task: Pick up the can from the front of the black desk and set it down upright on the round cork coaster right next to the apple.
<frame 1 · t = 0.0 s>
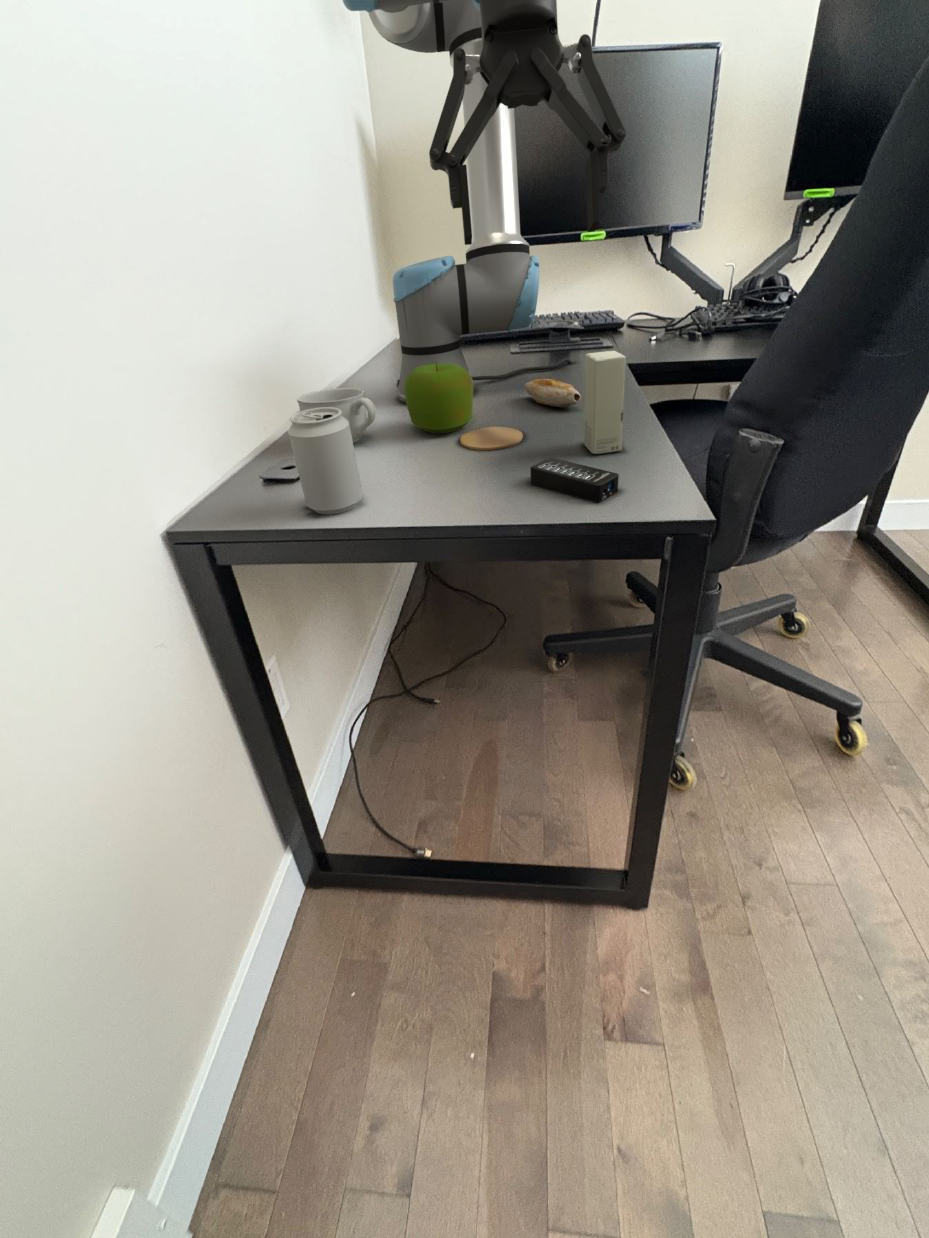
hand: (531, 234, 65), 28 cm above the table, tool tilted 20°, fingers open, 13 cm apart
box: (601, 449, 88), on the table
beige elongated hollow pod: (551, 405, 109), on the table
apple: (443, 430, 102), on the table
teacup: (346, 444, 100), on the table
coaster: (491, 439, 96), on the table
multiport hub: (572, 488, 77), on the table
can: (336, 506, 79), on the table
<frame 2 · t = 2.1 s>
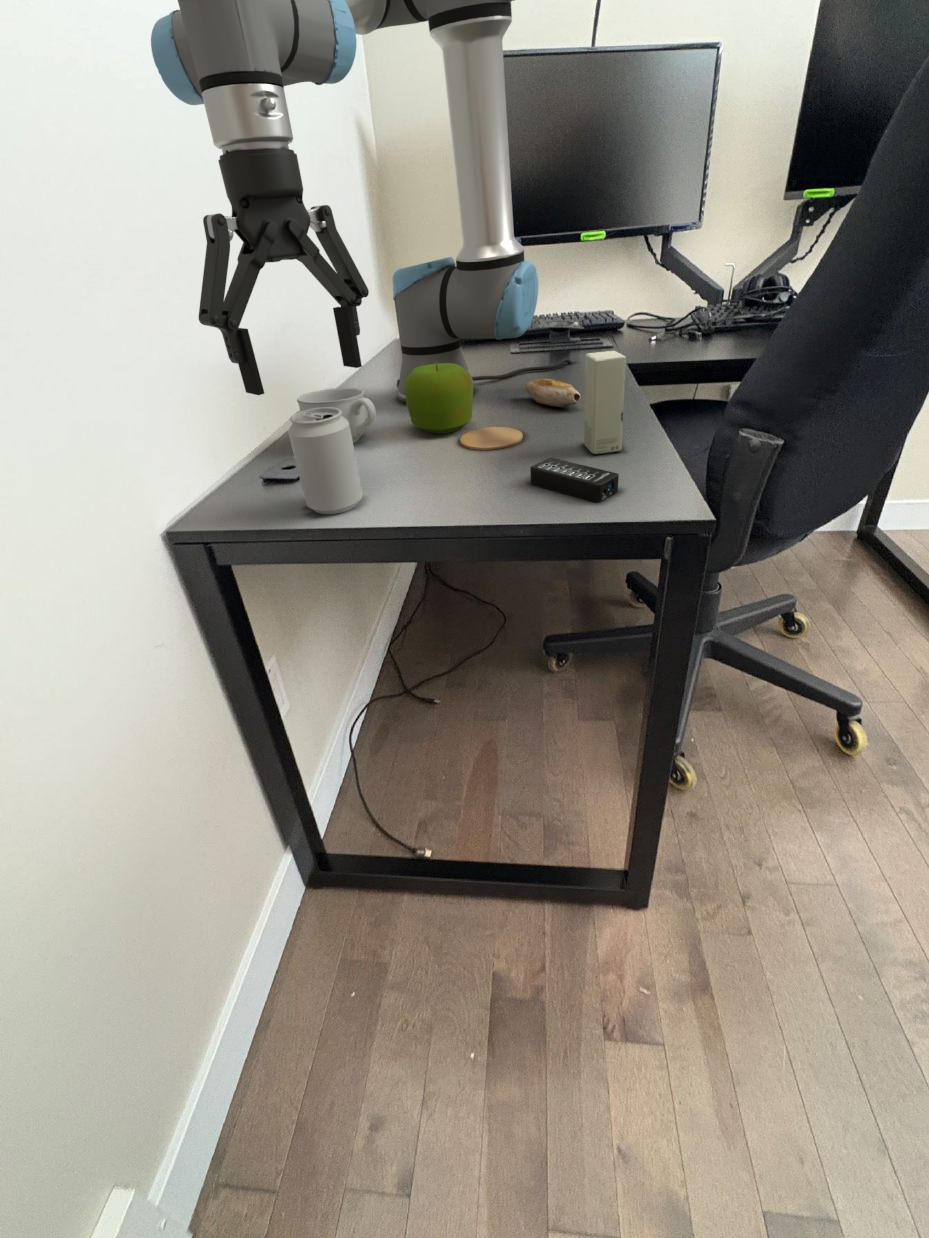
hand: (306, 379, 70), 16 cm above the table, tool pointing down, fingers open, 13 cm apart
nothing on the table moved.
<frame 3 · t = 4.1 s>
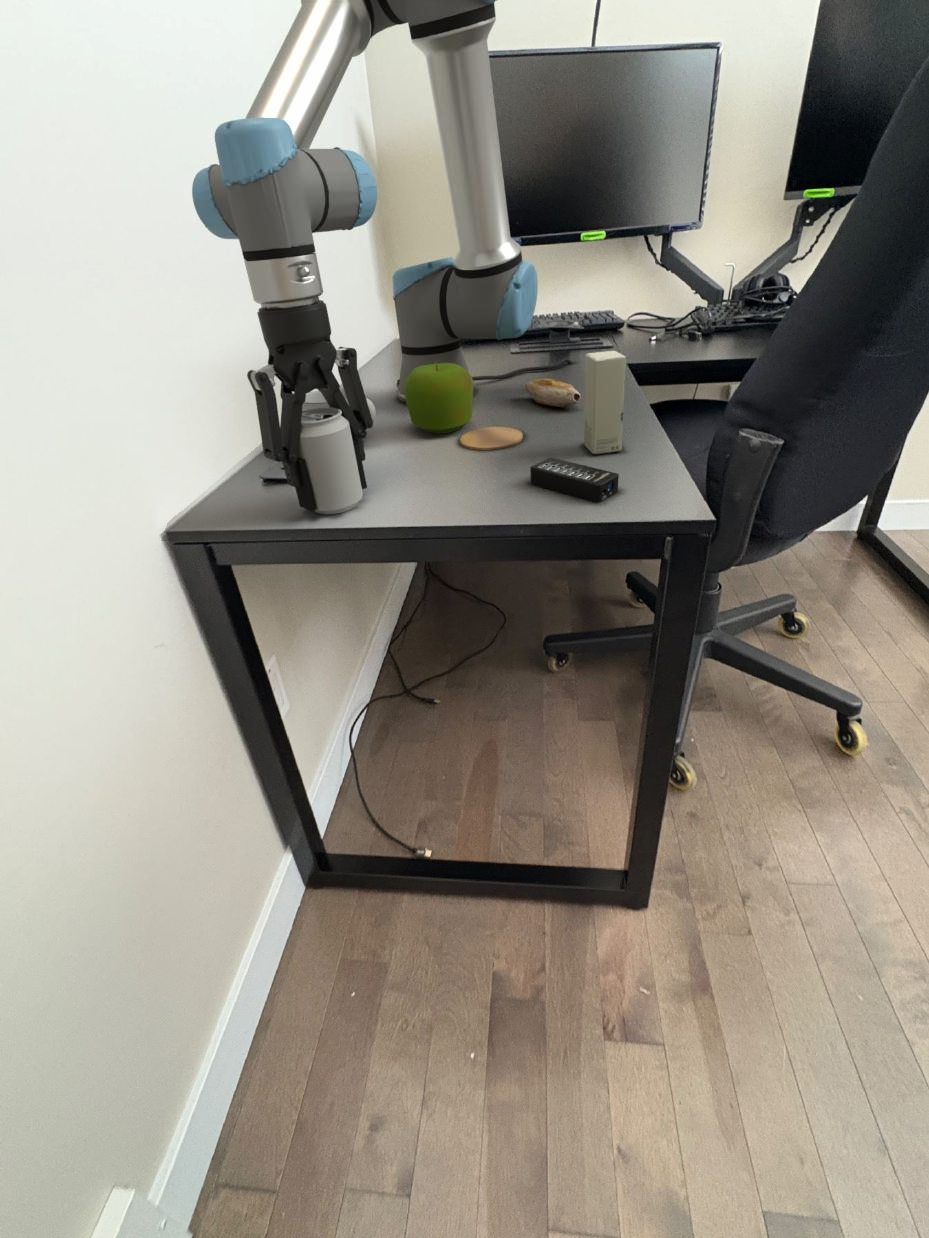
hand: (334, 496, 79), 1 cm above the table, tool pointing down, fingers closed on can, 7 cm apart
can: (336, 506, 79), on the table, touching gripper
everything else where it was.
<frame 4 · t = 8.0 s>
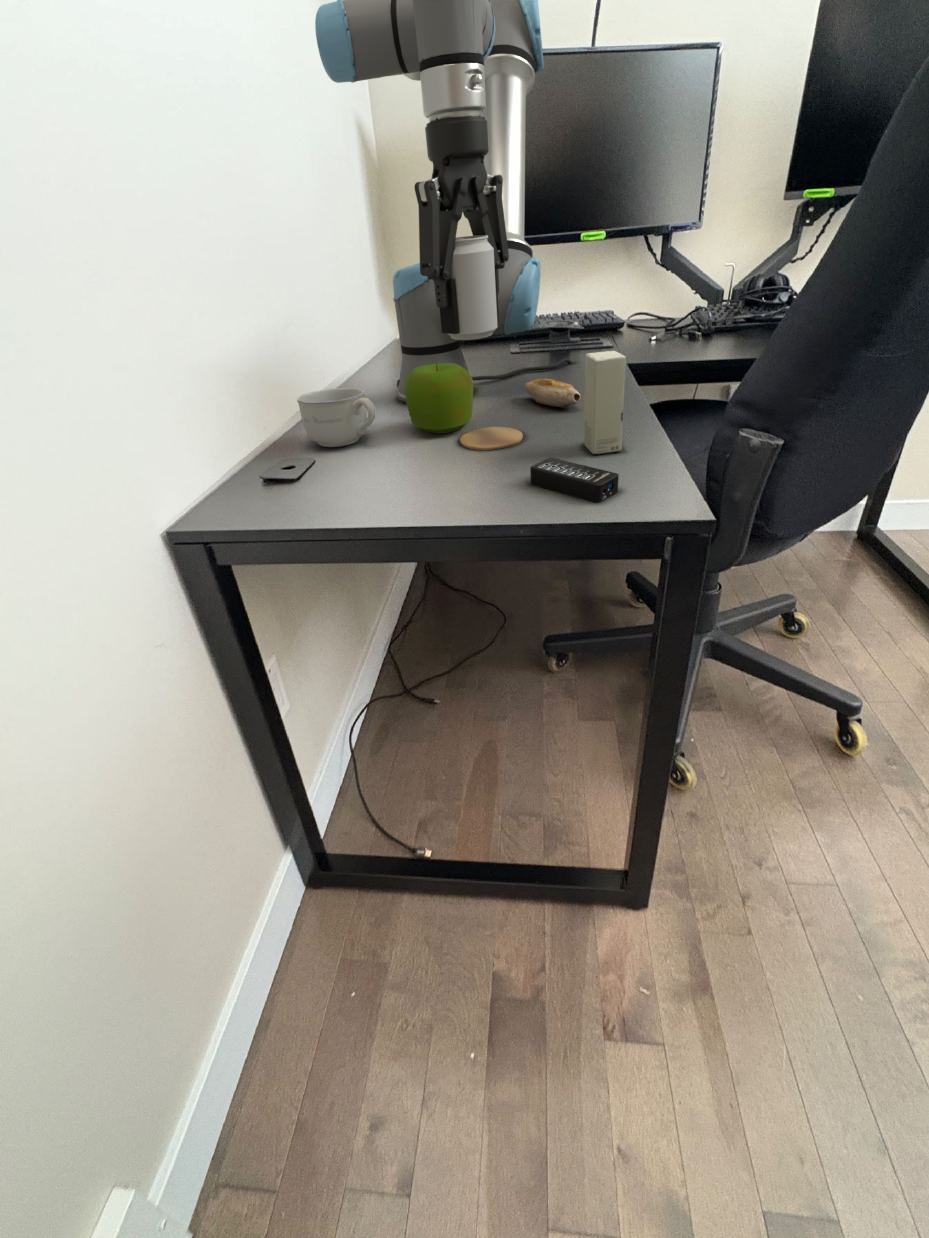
hand: (471, 327, 85), 17 cm above the table, tool pointing down, fingers closed on can, 7 cm apart
can: (471, 337, 85), point 15 cm above the table, touching gripper
everything else where it was.
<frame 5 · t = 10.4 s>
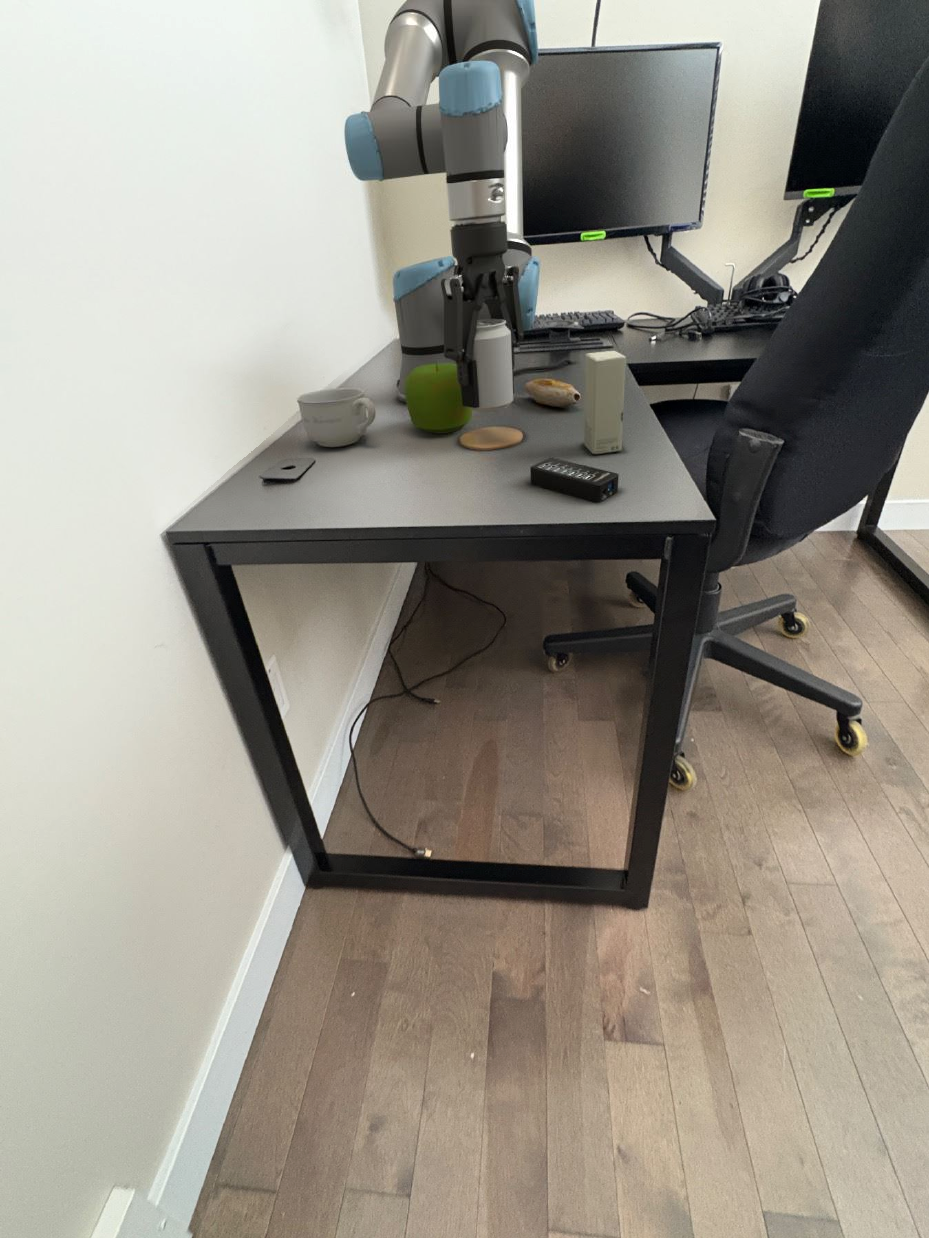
hand: (488, 399, 92), 6 cm above the table, tool pointing down, fingers closed on can, 7 cm apart
can: (489, 408, 93), point 5 cm above the table, touching gripper
everything else where it was.
when the fingers open (1 cm above the table, at t = 12.0 s): can stays where it is, resting on coaster.
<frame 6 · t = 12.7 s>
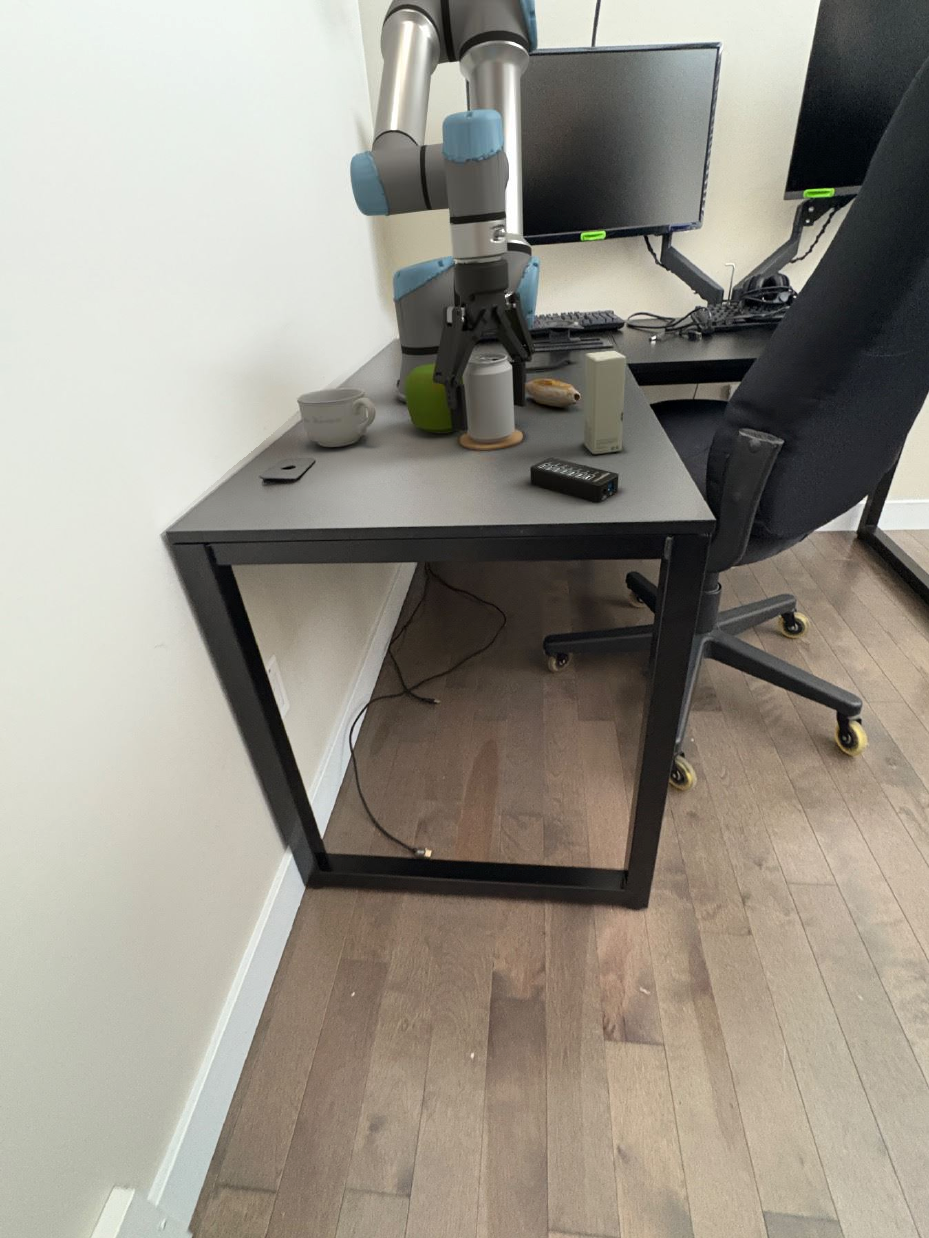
hand: (490, 417, 94), 3 cm above the table, tool pointing down, fingers open, 13 cm apart
can: (491, 438, 95), resting on coaster
everything else where it was.
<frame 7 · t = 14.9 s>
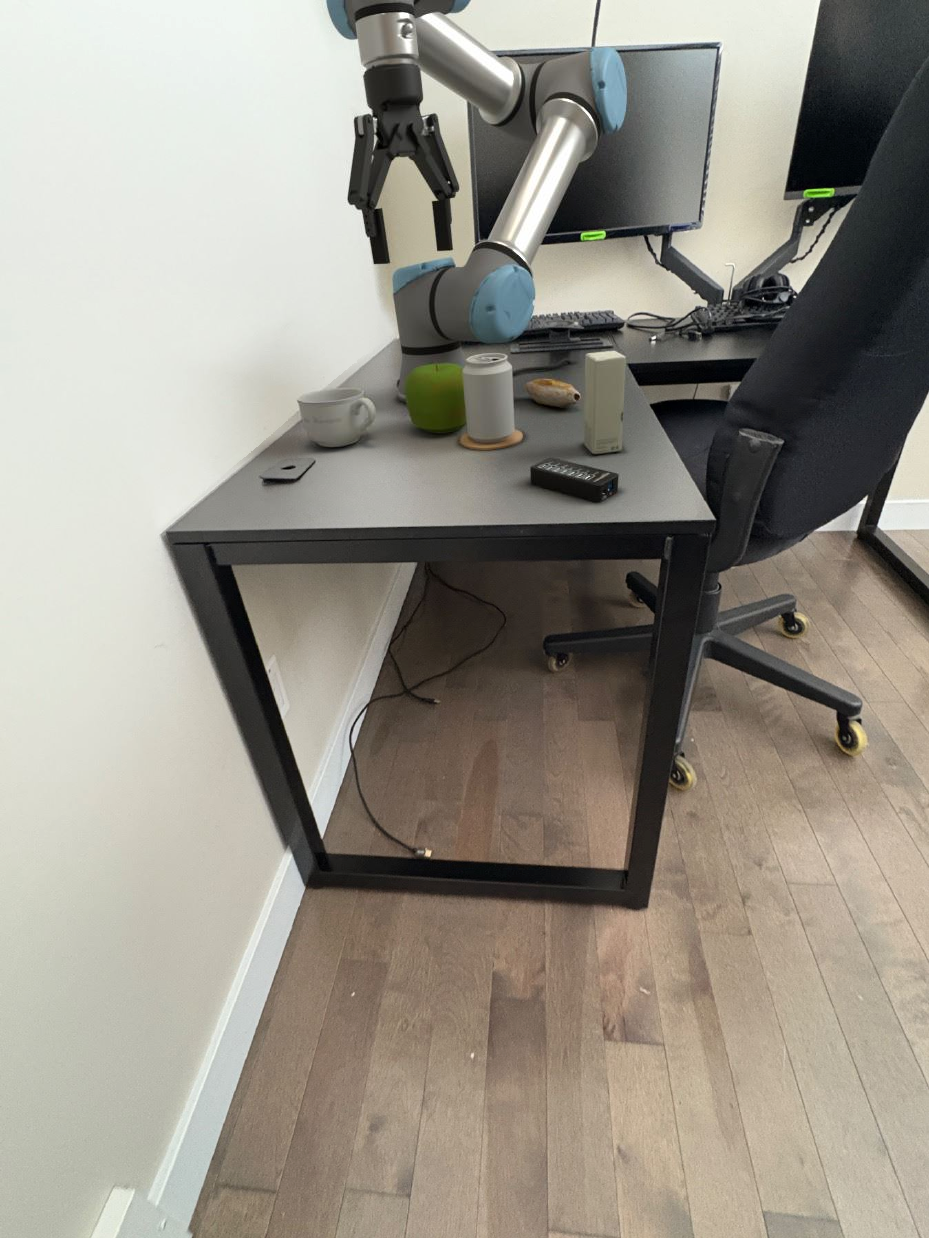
hand: (414, 257, 90), 25 cm above the table, tool pointing down, fingers open, 13 cm apart
nothing on the table moved.
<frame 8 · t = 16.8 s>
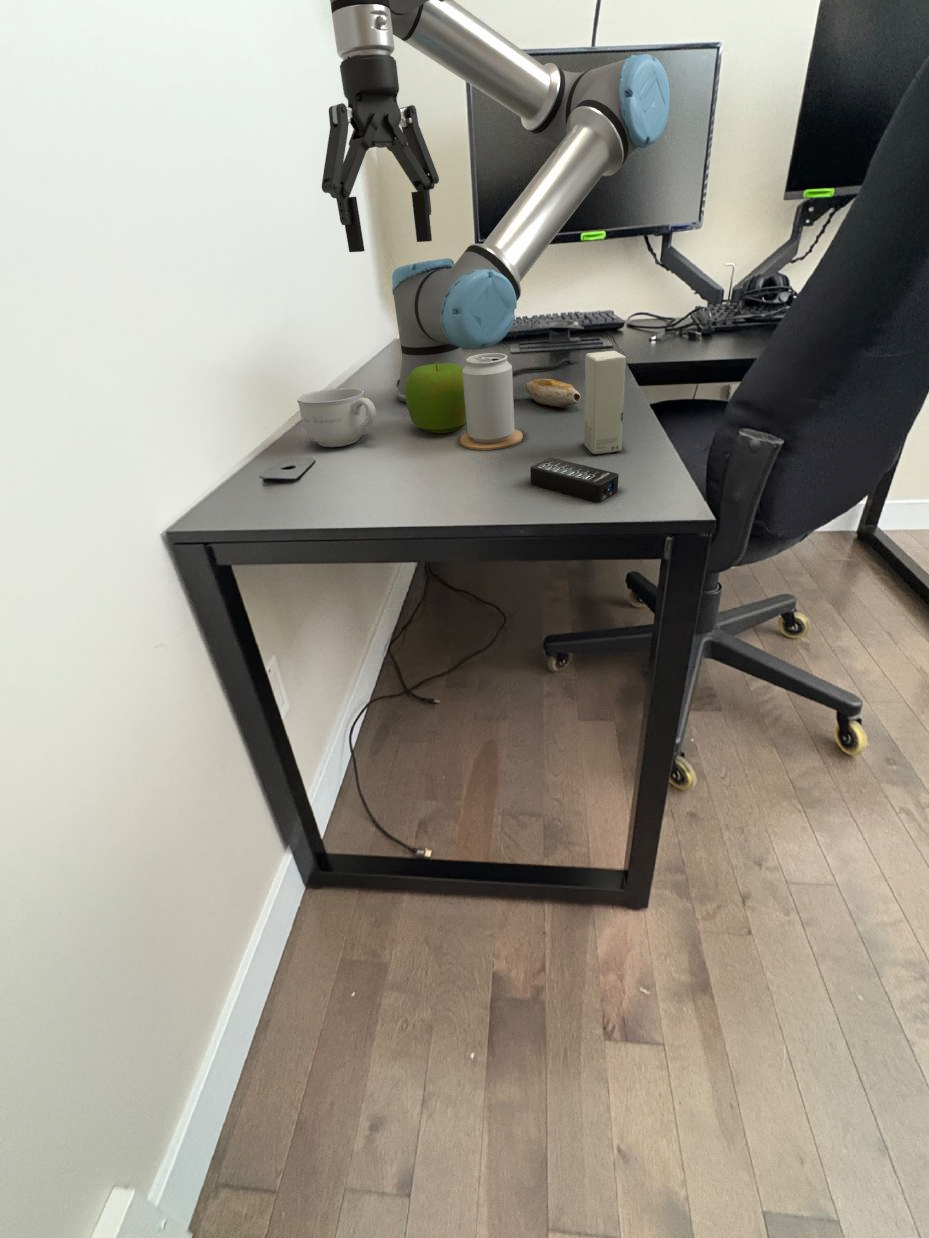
hand: (392, 246, 91), 27 cm above the table, tool pointing down, fingers open, 13 cm apart
nothing on the table moved.
at the end: can 11.1 cm from the apple (horizontally); can tilted 0°; apple moved 0.2 cm from its start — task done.
